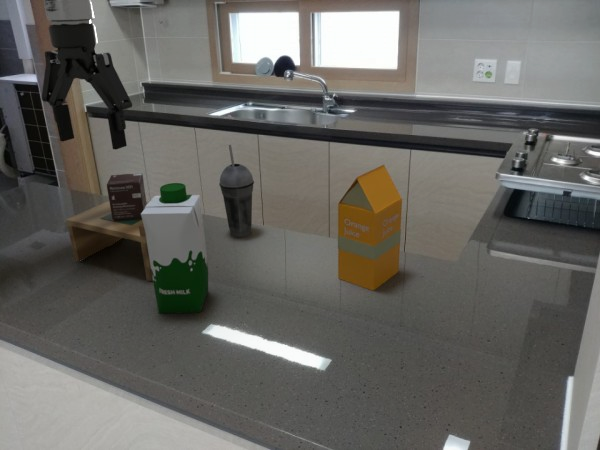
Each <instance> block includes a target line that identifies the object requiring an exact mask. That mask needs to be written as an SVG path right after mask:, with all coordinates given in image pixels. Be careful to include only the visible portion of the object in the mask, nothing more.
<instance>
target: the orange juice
mask: <svg viewBox="0 0 600 450" xmlns="http://www.w3.org/2000/svg"><path fill="white" fill-rule="evenodd" d="M402 209H403V198H402V196H401V194H400V192H399V190H398V189H397V187H396V185H395V183H394V181H393V179H392V177H391V175H390V173H389V171H388V170H387V168H386V166H385V164H382V165H380V166H377V167H376V168H374V169H371V170H369V171H367V172H365V173H362V174H361V175H358V176H356V178H355V179H354V180H353V182H352V183H351V185H350V186H349V188H348V189H347V191H346V192H345V193H344V194H343V196H342V197H341V199H340V200H339V201H338V203H337V231H338V232H337V255H338V256H337V275H338V276H337V278H338V279H339V280H342V281H345V282H347V283H350V284H353V285H356V286H359V287H362V288H364V289H366V290H370V291H373V292H374V291H375V290H376V289H378V288H379V287H380V286H381V285H383V284H385V282H387V281H388V280H390V279H392V277H393V276H395V275H396V274H397V273H399V272H400V271H399V269H400V251H401V250H400V249H401V234H402V232H401V231H402V229H401V227H402Z"/></svg>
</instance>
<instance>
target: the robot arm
mask: <svg viewBox="0 0 600 450" xmlns="http://www.w3.org/2000/svg"><path fill="white" fill-rule="evenodd" d="M43 4H44V5H43V6H44V9H45V10H44V11H45V15H46V20H47V21H48V22H51V24H49V26H48V33H49V37H50V43H51V46H52V47H53V48H55V49H54V50H48V51H45V52H44V59H45V67H44V75H43V76H44V77H43V84H42V91H41V101H42V102H43V103H48V104H49V106H50V107H51V108H52V113H53V119H54V121H55V124H56V127H57V132H58V137H59V141H60V142H67V141H70V140H73V139H75V133H74V128H73V123H72V119H71V113H70V107H69V104H67V103H68V102H67V100H66V99H67V96H68V94H69V92H70V89H71V87H72V85H73V83H74V80H76V79H79V80H84V81H85V82H86V83H89V84H90V86H92V88H93V90H94V91H95V92H96V94H97V95H98V97H99V98H100V99H101V100H102V102H103V103H104V104H105V106H106V108H108V111H107V113H106V116H107V123H108V128H109V135H110V140H111V146H112V150H116V151H117V150H119V149H122V148H126V147H127V146H128V145H127V139H126V129H127V124H126V118H125V117H126V116H125V110H128V109H131V108H133V103H132V100H131V98H130V97H129V95H128V93H127V91H126V90H127V89H126V88H125V86H124V84H123V82H122V81H121V79H120V76H119V74H118V72H117V70H116V69H115V67H114V64H113V58H112V54H111V53H110V52H101V53H97V51H96V46H97V45H98V44H99V41H98V35H97V34H98V33H97V29H96V25H95V24H94V23H92V20H94V19H95V15H94V9H93V4H92V0H43Z"/></svg>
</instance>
